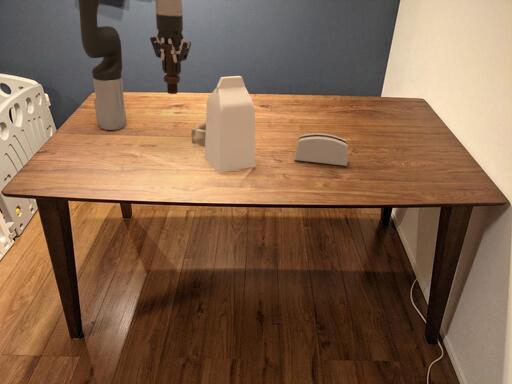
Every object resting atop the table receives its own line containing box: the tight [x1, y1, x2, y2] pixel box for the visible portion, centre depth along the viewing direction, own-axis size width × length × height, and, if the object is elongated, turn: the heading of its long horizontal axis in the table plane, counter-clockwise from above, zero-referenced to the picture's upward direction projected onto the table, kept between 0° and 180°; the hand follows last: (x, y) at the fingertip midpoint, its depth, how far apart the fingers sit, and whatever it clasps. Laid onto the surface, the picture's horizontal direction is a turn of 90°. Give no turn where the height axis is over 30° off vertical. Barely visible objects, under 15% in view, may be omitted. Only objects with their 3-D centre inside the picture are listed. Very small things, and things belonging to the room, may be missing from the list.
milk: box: [204, 75, 256, 174], centre depth 118 cm, size 12×12×26 cm
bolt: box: [160, 43, 181, 95], centre depth 123 cm, size 6×5×15 cm
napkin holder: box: [293, 132, 349, 167], centre depth 125 cm, size 17×5×10 cm, turn 81°
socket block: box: [191, 121, 206, 147], centre depth 137 cm, size 10×12×5 cm
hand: (171, 73), depth 124 cm, fingers closed on bolt, 3 cm apart
